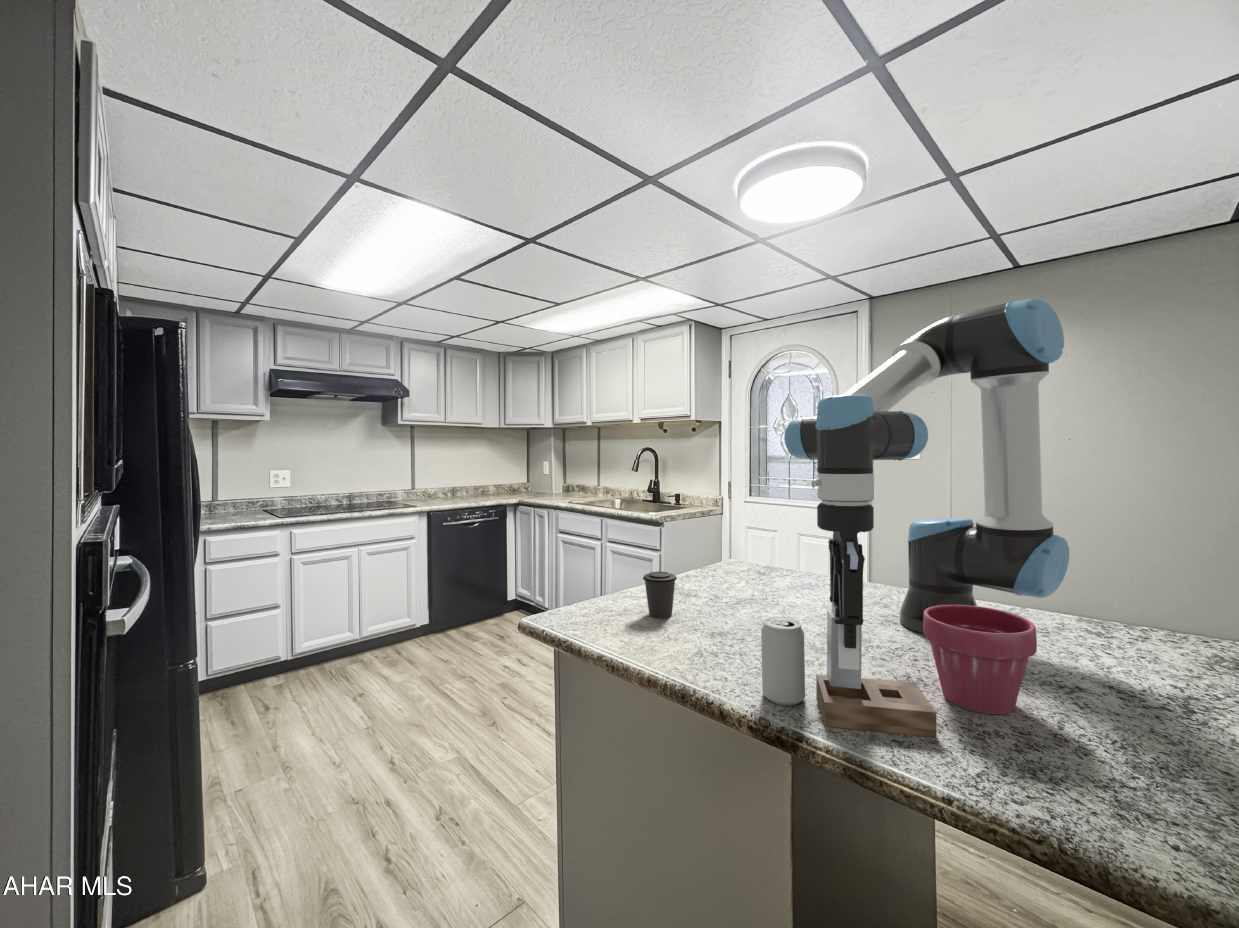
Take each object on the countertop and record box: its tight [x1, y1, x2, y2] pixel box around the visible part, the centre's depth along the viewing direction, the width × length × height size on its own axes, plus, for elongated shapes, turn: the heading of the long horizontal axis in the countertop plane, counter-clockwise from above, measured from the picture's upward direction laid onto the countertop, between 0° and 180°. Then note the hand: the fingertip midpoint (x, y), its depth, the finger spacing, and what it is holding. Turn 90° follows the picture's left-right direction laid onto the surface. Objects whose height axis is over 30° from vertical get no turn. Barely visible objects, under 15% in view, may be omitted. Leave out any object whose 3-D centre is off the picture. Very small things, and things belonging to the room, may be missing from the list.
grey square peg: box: [826, 602, 863, 689], centre depth 75 cm, size 4×4×11 cm
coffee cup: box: [642, 571, 678, 620], centre depth 122 cm, size 8×8×10 cm
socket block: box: [815, 674, 937, 738], centre depth 75 cm, size 14×9×3 cm, turn 76°
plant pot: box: [923, 605, 1038, 715], centre depth 79 cm, size 14×14×13 cm
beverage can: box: [760, 616, 806, 707], centre depth 80 cm, size 6×6×12 cm
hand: (845, 661), depth 75 cm, fingers closed on grey square peg, 4 cm apart
